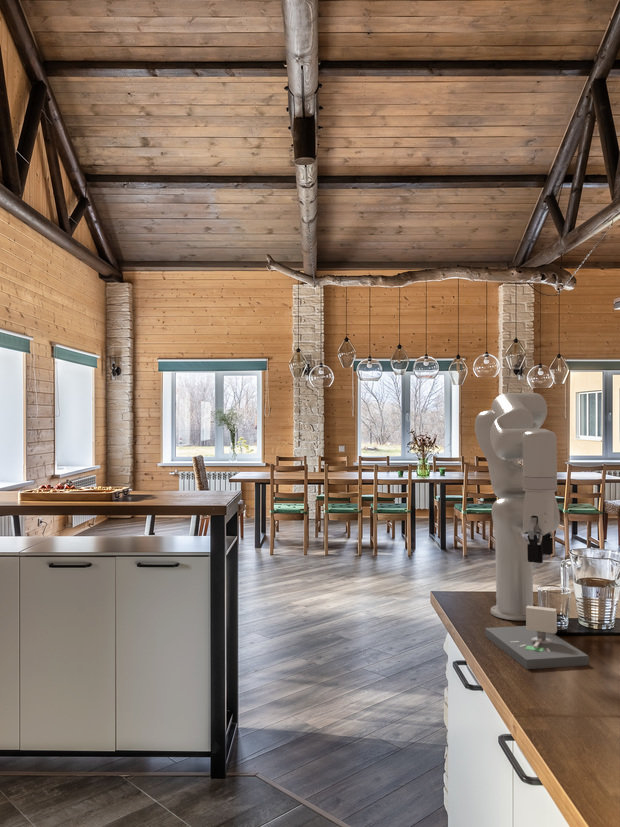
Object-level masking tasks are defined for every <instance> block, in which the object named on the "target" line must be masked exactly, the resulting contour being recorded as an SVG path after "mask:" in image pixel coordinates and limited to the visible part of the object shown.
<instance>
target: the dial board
mask: <svg viewBox="0 0 620 827" xmlns="http://www.w3.org/2000/svg"><path fill="white" fill-rule="evenodd" d="M484 631H485V632H484V635H485V637H486V638H487V639H488V640H489V641H491V643H493V644H494V645H495V646H497V647H498V648H499V649H500V650H502V651H503V652H504V653H506V654H507V655H508V656H509V657H511V658H512V659H513V660H515V662H517V663H518V664H519V665H521V666H522V667H523V668H524V669H526V670H534V669H535V670H536V669H549V668H550V669H552V668H567V667H581V666H589V663H590V662H589V655H588V654H587V653H585V652H584V651H581V650H580V649H579V648H577V647H576V646H573V645H572V644H571V643H569V642H568V641H566V640H564V639H562V638H561V637H560V636H558V635H556V633H547V632H546V640H542V642H541V643H540V645H539V646H538V648H537V649H536V648H534V644H535V643H536V641H537V640H538V639H537V631H533V630H526V625H517V626H516V625H515V626H497V627H496V626H495V627H485V629H484Z"/></svg>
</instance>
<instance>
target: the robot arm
mask: <svg viewBox="0 0 620 827" xmlns="http://www.w3.org/2000/svg"><path fill="white" fill-rule="evenodd" d="M547 415H548V404H547V401H546V399H545V398H544V397H543V395H542V394H540V393H537V392H510V393H509V392H507V393H502V394H499V395H498V396H496V397H495V398H494V399H493V401H492V403H491V409H489V410H484V411H481V412H479V413H478V414H477V415H476V418H475V419H474V431H475V437H476V442H477V443H478V446H479V448H480V450H481V452H482V453H483V455H484V457H485V459H486V462H487V468H488V473H489V480H490V483H491V484H490V485H491V489H492V491H493V493H494V495H495V496H496V497H497V498H498V499H497V500H495V501H494V502H493V503H492V506H491V519H492V524H493V530H494V540H495V542H494V543H495V594H496V595H495V598H496V602H495V603H496V604H495V605H493V606H492V607H490V613H491V615H492V616H494V617H496V618H498V619H504V620H507V621H508V620H510V621H517V622H518V621H519V622H520V621H521V622H522V621H525V622H526V607H527V606H534V579H533V577H534V573H533V570H534V569H533V565H534V563H536V564H542V563H543V561H544V558H543V557H544V556H543V555H549V556H552V555H553V554H554V537H553V536H554V535H553V534H554V533H553V532H555V531H557V530H558V528H559V526H560V522H561V514H560V509H559V505H558V501H557V497H556V494H555V493H556V492H557V491H558V453H557V452H558V447H557V446H558V445H557V442H558V441H557V440H558V439H557V435H556V433H555V432H554V431H551V430H549V429H546V428H541V427H542V426H543V424H544V422H545V421H546V418H547ZM519 460H522V464H519ZM523 534H525V535H527V540H526V539H525V538H524V537H523Z"/></svg>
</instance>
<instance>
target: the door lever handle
mask: <svg viewBox="0 0 620 827" xmlns="http://www.w3.org/2000/svg"><path fill="white" fill-rule="evenodd" d="M557 612H558V611H557V608H552V607H545V606H544V607H543V606H536V605H535V606H534V605H533V606H527V607H526V620H525V626H526V630H533V631H537V639H538V640H537V641H536V643H535V644H534V648H536V649H537V648H538V646H539V645H540V643H541V642H542V640H546V632H547V633H553V634H557V632H558V618H557V617H558V616H557V614H558V613H557Z"/></svg>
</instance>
